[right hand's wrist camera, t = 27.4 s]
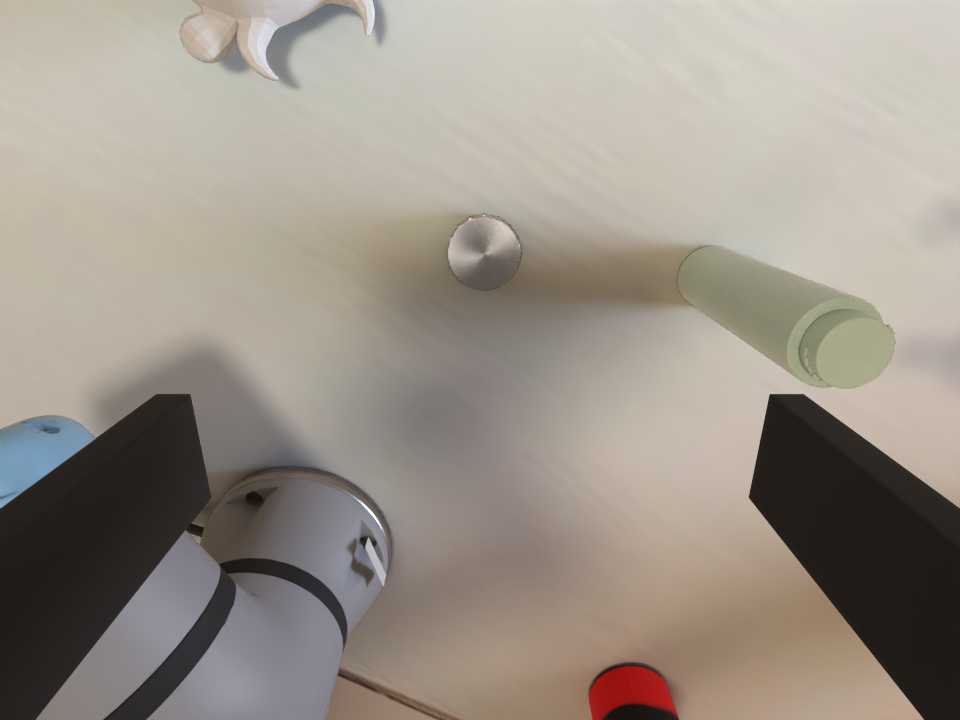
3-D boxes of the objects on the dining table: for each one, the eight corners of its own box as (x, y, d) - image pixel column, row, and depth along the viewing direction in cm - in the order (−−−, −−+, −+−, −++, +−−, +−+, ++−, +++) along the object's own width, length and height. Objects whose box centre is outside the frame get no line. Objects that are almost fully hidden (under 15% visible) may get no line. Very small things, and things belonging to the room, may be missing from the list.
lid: (494, 199, 37) (495, 200, 35) (533, 260, 38) (535, 265, 37) (433, 240, 38) (432, 244, 36) (474, 299, 39) (473, 304, 38)
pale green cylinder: (695, 318, 40) (829, 418, 24) (665, 270, 38) (786, 344, 23) (749, 282, 39) (924, 363, 23) (720, 232, 37) (883, 284, 22)
